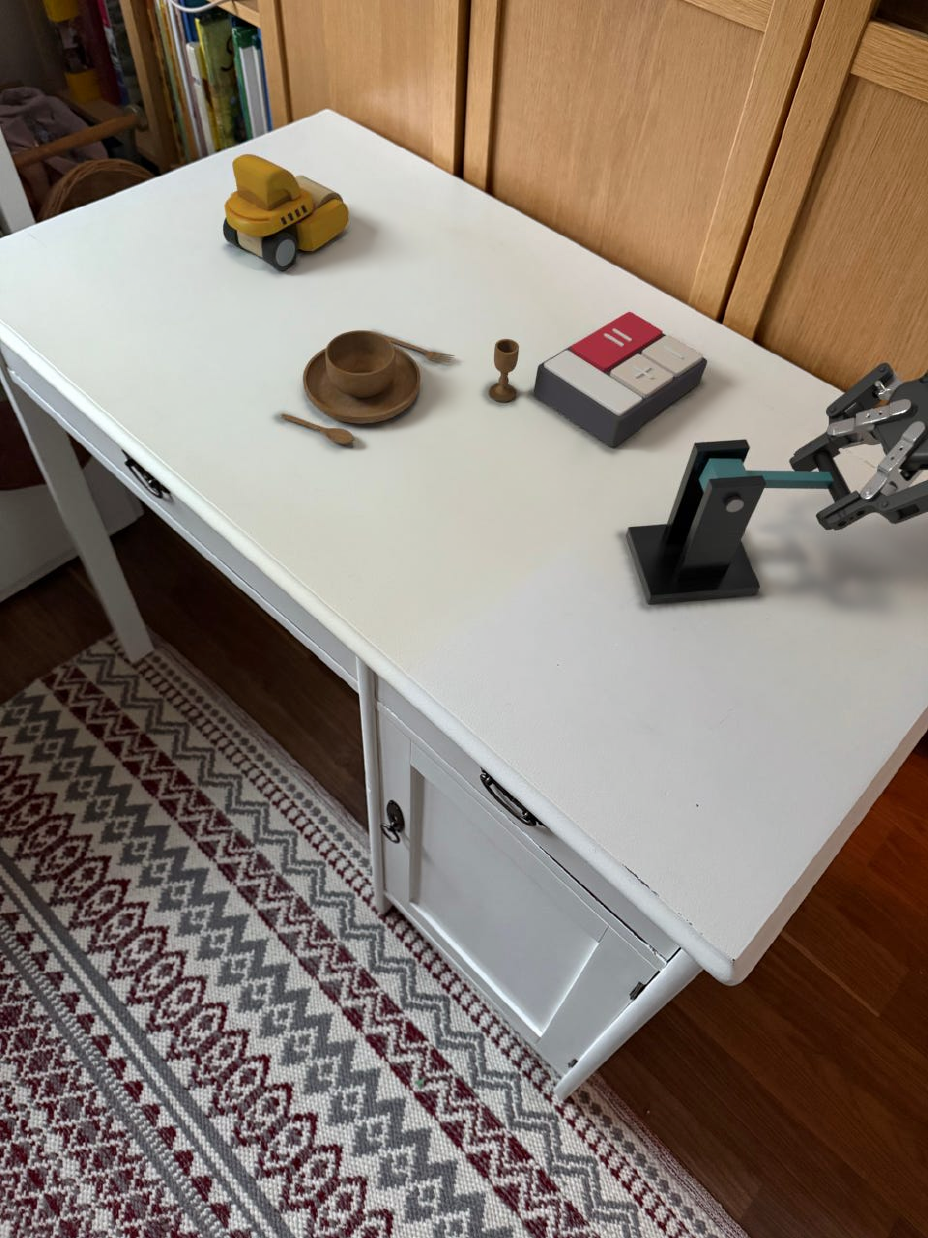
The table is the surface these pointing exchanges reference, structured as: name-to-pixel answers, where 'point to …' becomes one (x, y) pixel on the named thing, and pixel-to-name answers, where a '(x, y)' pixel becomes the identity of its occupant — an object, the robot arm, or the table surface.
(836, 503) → the robot arm
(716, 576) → the bracket
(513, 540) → the table surface
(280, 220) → the toy roller
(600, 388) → the calculator
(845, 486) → the lever
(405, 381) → the place setting
